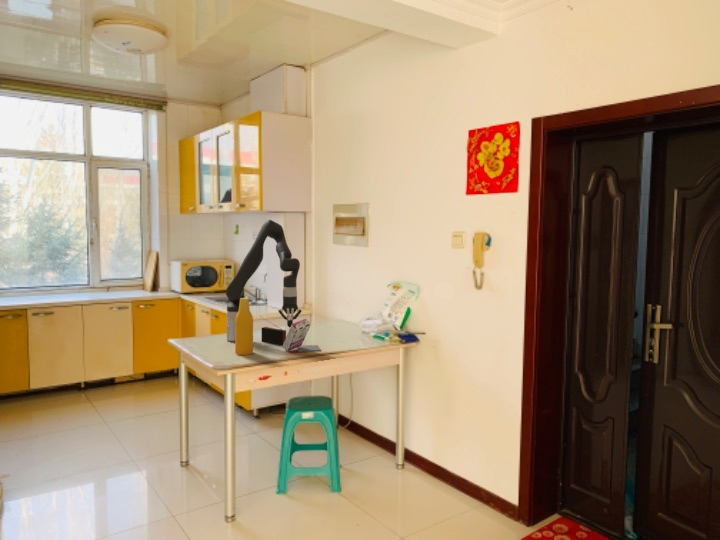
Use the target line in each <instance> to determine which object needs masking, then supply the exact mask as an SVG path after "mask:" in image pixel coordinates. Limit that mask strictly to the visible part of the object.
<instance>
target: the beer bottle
mask: <svg viewBox="0 0 720 540" xmlns="http://www.w3.org/2000/svg"><path fill="white" fill-rule="evenodd" d="M234 342H235V346H234V348H235V349H234V351H235V352H234V353H235V354H236V355H238V356H248V355H251V354H252V355H253V353H254V316H253V315H252V312H251V310H250V302H249V298H248V297H244V298H240V304H239V311H238V313H237V315H236V319H235V341H234Z"/></svg>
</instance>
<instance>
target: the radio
mask: <svg viewBox="0 0 720 540" xmlns="http://www.w3.org/2000/svg"><path fill="white" fill-rule="evenodd" d="M259 317H260V318H262V319H264V320H265V321H267V322H269V323H270V324H272V325H273V326H275V327H276V328H275V327H268V326H264V327H261V343H266V344H270V345H271V344H272V345H275V346H280V347H281V346H282V347H283V343H284V341H285V339H286V336H287V330H286V329H282V328H281V327H279V326H277V325H276V324H274V323H272V322H271V321H268V320H267V319H265V318H264V317H263V316H261V315H260V316H259Z"/></svg>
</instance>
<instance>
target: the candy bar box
mask: <svg viewBox="0 0 720 540" xmlns="http://www.w3.org/2000/svg"><path fill="white" fill-rule="evenodd" d="M311 326H312V323H311V322H310V321H309V320H308V319H306V318H303V319H302V320H299V321H296V322H293V324H292V325H291V327H289V329H288V331H287V333H286V339H285V341H284V343H283V346H282V347H283V349H285V351H286V352H290V351H292V350H295V349H297V347H300V346H303V343H304V341H305V338H306V337H307V334H308V332H309V330H310V328H311Z"/></svg>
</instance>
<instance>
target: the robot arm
mask: <svg viewBox="0 0 720 540" xmlns="http://www.w3.org/2000/svg"><path fill="white" fill-rule="evenodd" d="M267 238H269V239H270V238H271V239H273V240H274V241H275V242H276V245H275V252H276V254H277V256H278V258H279V267H280V270H281V271H282V272H290V274H289V275H285V276H283V278H282V279H283V286H282V287H283V288H282V289H283V290H282V307H281V309H278V314H280V316H281V317H282V318H283V319H284V320H286V322H287V324H286V325H287V327H288V328H290V327H291V325H292V324H294V322H293V321H294V320H296V319H297V318H298V317H299V316H300V314H302V311H303V310H302V309H300V308H299V307H298V290H297V288H298V287H297V278H298V274H299V270H300V268H301V267H300V266H301V263H300V261H299V259H298V258H297V257H293V254H292V251H291V249H290V248H289V246H288V243H287V240H286V237H285V231H284V228H283V227H282V225H281V224H279V223H277V222H276V221H274V220H272V219H267V220H265V222H263V224H262V226H261V227H260V230H259V232H258V234H257V236H256V238H255V240H254V242H253V244H252V245H251V247H250V249H249V250H248V252H247V254H246V256H244V259H243V261H242V263H241V265H240V266H239V269H238V270H237V273H236V274H235V276H234V278H233V279H232V280H231V282H230V283H229V285H227V287H226V288H225V289H226V290H225V295H226V297H227V299H228V300H227V302H228V303H227V306H226V342H235V319H236V315H237V313H238V311H239V304H240V298H245V287H246V284H247V282H248V281H249V280H250V279H251V278H252V276H254V274H255V272H256V271H257V270H258V269H259V267H260V265H261V263H262V262H263V260H264V244H265V242H266V240H267ZM292 257H293V258H292ZM284 313H285V314H286V315H285V314H284Z"/></svg>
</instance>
